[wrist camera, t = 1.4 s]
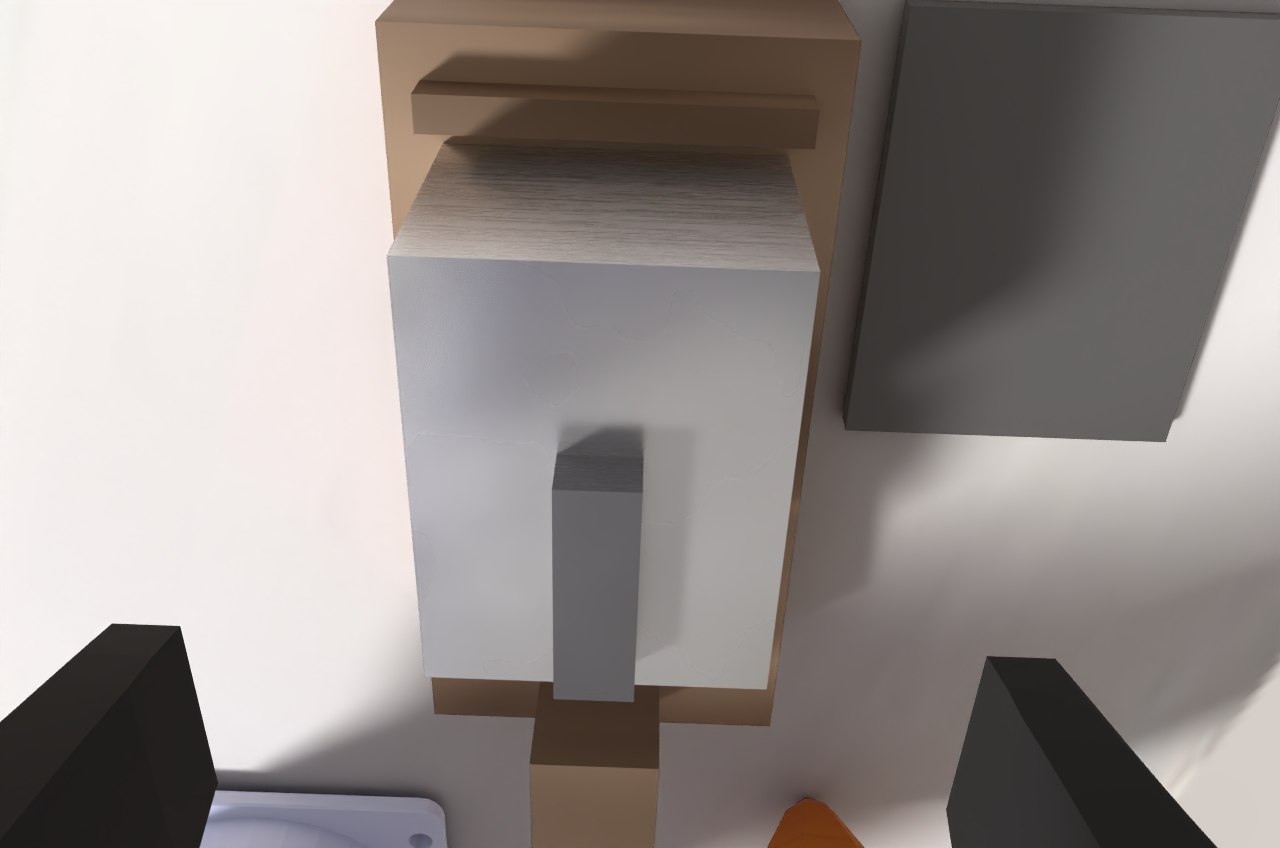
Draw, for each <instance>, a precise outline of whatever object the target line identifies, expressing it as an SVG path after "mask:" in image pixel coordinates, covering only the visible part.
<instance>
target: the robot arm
mask: <svg viewBox="0 0 1280 848" xmlns="http://www.w3.org/2000/svg"><path fill="white" fill-rule="evenodd" d="M217 784H218V781H217V777H216V773H215V769H214V765H213V761H212V757H211V752H210V748H209V744H208V740H207V736H206V732H205V727H204V723H203V719H202V715H201V711H200V707H199V702H198V698H197V694H196V690H195V686H194V682H193V677H192V673H191V669H190V665H189V661H188V657H187V652H186V648H185V644H184V640H183V636H182V632H181V628H180V626H163V625H136V624H111V625H110V626H109V627H108V628H106V629H105V630H104V631H103V632H102V633H101V634H99V635H98V636H97V637H96V638H95V639H94V640H92V641H91V642H90V643H89V644H88V645H87V646H86V647H84V648H83V649H82V650H81V651H80V652H79V653H78V654H77V655H75V656H74V657H73V658H72V659H71V660H70V661H69V662H67V663H66V664H65V665H64V666H63V667H62V668H61V669H59V670H58V671H57V672H56V673H55V674H54V675H53V676H52V677H50V678H49V679H48V680H47V681H46V682H45V683H44V684H43V685H41V686H40V687H39V688H38V689H37V690H36V691H35V692H34V693H32V694H31V695H30V696H29V697H28V698H27V699H26V700H25V701H23V702H22V703H21V704H20V705H19V706H18V707H17V708H16V709H14V710H13V711H12V712H11V713H10V714H9V715H8V716H7V717H5V718H4V719H3V720H2V721H1V722H0V848H447V837H446V826H445V814H444V811H443V809H442V808H441V807H440V806H439V805H438V804H437V803H436V802H434V801H432V800H430V799H425V798H412V797H384V796H356V795H329V794H301V793H273V792H245V791H218V790H216V787H217ZM946 811H947V818H948V825H949V831H950V838H951V844H952V848H1217V847H1216V846H1215V844H1214V843H1213V842H1212V841H1211V840H1210V839H1209V838H1208V837H1207V836H1206V834H1204V832H1203V831H1202V830H1201V829H1200V828H1199V827H1198V826H1197V825H1196V823H1195V822H1194V821H1193V820H1192V819H1191V818H1190V817H1189V816H1188V815H1187V814H1186V812H1185V811H1184V810H1183V809H1182V807H1181V806H1180V805H1179V804H1178V803H1177V802H1176V801H1175V799H1174V798H1173V797H1172V796H1171V795H1170V794H1169V793H1168V791H1167V790H1166V789H1165V788H1164V787H1163V786H1162V784H1161V783H1160V782H1159V781H1158V780H1157V779H1156V777H1155V776H1154V775H1153V774H1152V773H1151V772H1150V770H1149V769H1148V768H1147V767H1146V766H1145V764H1144V763H1143V762H1142V761H1141V760H1140V759H1139V757H1138V756H1137V755H1136V754H1135V753H1134V752H1133V750H1132V749H1131V748H1130V747H1129V746H1128V744H1127V743H1126V742H1125V741H1124V740H1123V738H1122V737H1121V736H1120V735H1119V734H1118V733H1117V731H1116V730H1115V729H1114V728H1113V727H1112V725H1111V724H1110V723H1109V722H1108V721H1107V719H1106V718H1105V717H1104V716H1103V715H1102V713H1101V712H1100V711H1099V710H1098V709H1097V707H1096V706H1095V705H1094V704H1093V703H1092V701H1091V700H1090V699H1089V698H1088V697H1087V695H1086V694H1085V693H1084V692H1083V691H1082V690H1081V688H1080V687H1079V686H1078V685H1077V684H1076V682H1075V681H1074V680H1073V679H1072V678H1071V677H1070V675H1069V674H1068V673H1067V672H1066V671H1065V670H1064V668H1063V667H1062V666H1061V665H1060V664H1059V663H1058V662H1057V660H1056V659H1046V658H1019V657H992V656H987V658H986V662H985V665H984V669H983V673H982V677H981V680H980V684H979V688H978V692H977V696H976V699H975V703H974V707H973V711H972V714H971V718H970V722H969V726H968V729H967V733H966V737H965V741H964V744H963V748H962V752H961V756H960V760H959V763H958V767H957V771H956V775H955V778H954V782H953V786H952V790H951V793H950V797H949V801H948V805H947V808H946Z"/></svg>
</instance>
